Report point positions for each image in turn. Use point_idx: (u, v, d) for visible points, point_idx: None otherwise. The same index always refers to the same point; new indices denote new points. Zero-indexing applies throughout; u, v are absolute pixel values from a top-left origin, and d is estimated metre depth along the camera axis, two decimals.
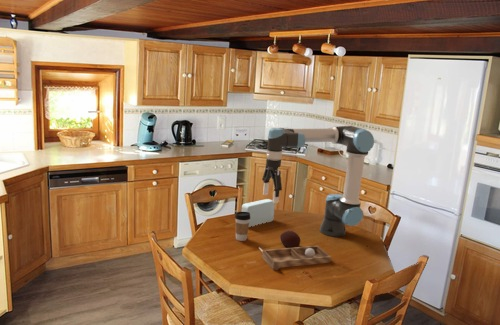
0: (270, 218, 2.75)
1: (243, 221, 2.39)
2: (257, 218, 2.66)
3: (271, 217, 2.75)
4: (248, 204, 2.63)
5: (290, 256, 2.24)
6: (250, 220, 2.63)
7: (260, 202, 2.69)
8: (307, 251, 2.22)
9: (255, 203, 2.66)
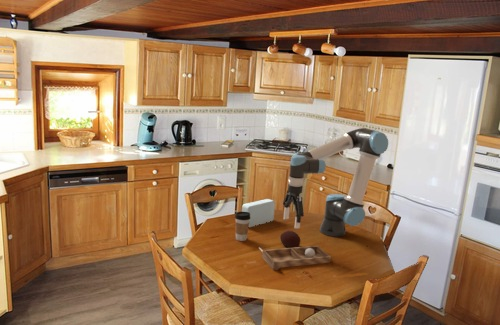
0: (270, 218, 2.75)
1: (243, 221, 2.39)
2: (257, 218, 2.66)
3: (271, 217, 2.75)
4: (248, 204, 2.63)
5: (290, 256, 2.24)
6: (250, 220, 2.63)
7: (260, 202, 2.69)
8: (307, 251, 2.22)
9: (255, 203, 2.66)
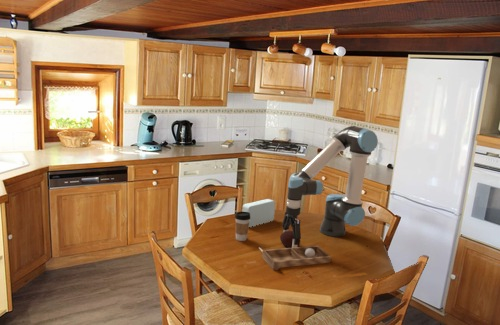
0: (270, 218, 2.75)
1: (243, 221, 2.39)
2: (257, 218, 2.66)
3: (271, 217, 2.75)
4: (249, 204, 2.63)
5: (290, 256, 2.24)
6: (251, 220, 2.63)
7: (261, 202, 2.69)
8: (307, 251, 2.22)
9: (256, 203, 2.66)
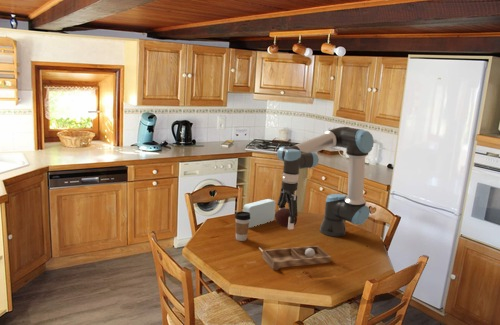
0: (271, 217, 2.75)
1: (243, 221, 2.39)
2: (258, 218, 2.66)
3: (272, 217, 2.75)
4: (250, 204, 2.62)
5: (290, 256, 2.24)
6: (252, 220, 2.63)
7: (261, 202, 2.69)
8: (307, 251, 2.22)
9: (257, 203, 2.66)
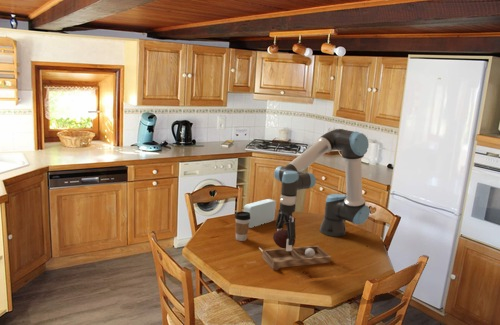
0: (271, 217, 2.75)
1: (243, 221, 2.39)
2: (259, 218, 2.66)
3: (272, 217, 2.76)
4: (250, 204, 2.62)
5: (290, 256, 2.24)
6: (252, 220, 2.62)
7: (262, 202, 2.69)
8: (307, 251, 2.22)
9: (257, 203, 2.65)
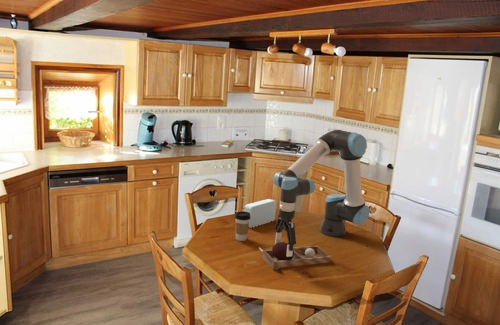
0: (271, 217, 2.75)
1: (243, 221, 2.39)
2: (259, 218, 2.66)
3: (272, 216, 2.76)
4: (251, 204, 2.62)
5: None
6: (253, 220, 2.62)
7: (262, 202, 2.69)
8: (307, 251, 2.22)
9: (257, 203, 2.65)
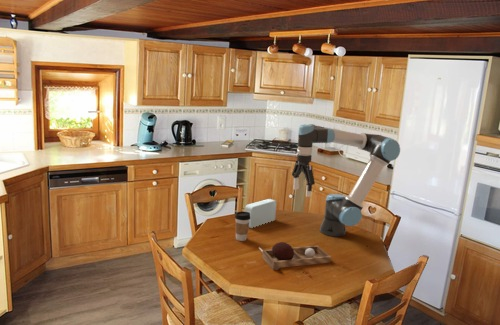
0: (272, 217, 2.75)
1: (243, 221, 2.39)
2: (260, 218, 2.66)
3: (273, 216, 2.76)
4: (252, 205, 2.62)
5: None
6: (254, 221, 2.62)
7: (263, 202, 2.69)
8: (307, 251, 2.22)
9: (258, 203, 2.65)
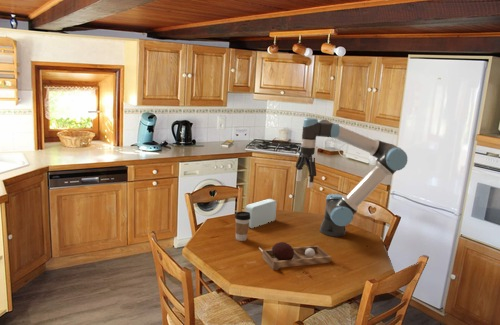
0: (272, 217, 2.75)
1: (243, 221, 2.39)
2: (260, 218, 2.66)
3: (273, 216, 2.76)
4: (252, 205, 2.62)
5: None
6: (254, 221, 2.62)
7: (263, 202, 2.69)
8: (307, 251, 2.22)
9: (258, 203, 2.65)
